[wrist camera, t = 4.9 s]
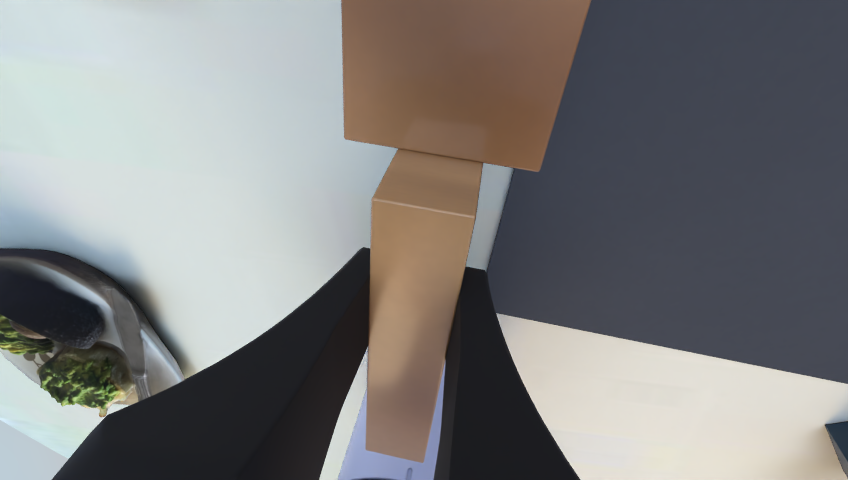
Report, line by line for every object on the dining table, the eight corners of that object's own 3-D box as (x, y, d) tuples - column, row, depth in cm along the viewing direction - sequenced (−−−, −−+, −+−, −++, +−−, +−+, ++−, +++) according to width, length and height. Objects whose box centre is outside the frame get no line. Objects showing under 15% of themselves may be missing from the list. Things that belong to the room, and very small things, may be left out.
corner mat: (848, 380, 22) (854, 388, 22) (477, 305, 24) (476, 312, 23) (1391, -51, 11) (1424, -50, 10) (597, -146, 12) (600, -148, 12)
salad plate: (245, 416, 37) (216, 470, 33) (86, 404, 41) (45, 451, 37) (118, 239, 26) (52, 291, 22) (-82, 247, 30) (-165, 291, 26)
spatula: (346, -322, 7) (251, -461, 4) (673, -294, 6) (773, -433, 4) (353, 374, 18) (328, 442, 16) (468, 398, 17) (461, 472, 15)
